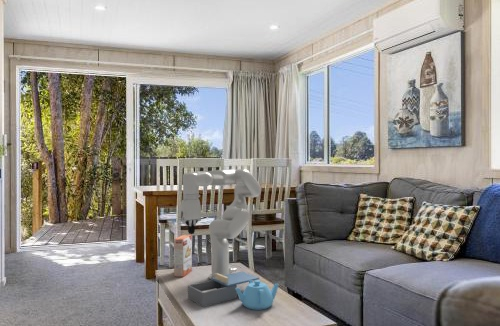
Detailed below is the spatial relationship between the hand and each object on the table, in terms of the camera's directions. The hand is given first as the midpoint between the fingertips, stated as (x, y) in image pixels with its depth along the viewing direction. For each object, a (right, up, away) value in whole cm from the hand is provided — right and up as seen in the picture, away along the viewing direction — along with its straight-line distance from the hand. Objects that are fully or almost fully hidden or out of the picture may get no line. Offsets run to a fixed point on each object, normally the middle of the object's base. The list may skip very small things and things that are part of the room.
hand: (191, 233), depth 210 cm
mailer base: (+12, -27, -17) cm, 34 cm away
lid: (+23, -21, -9) cm, 32 cm away
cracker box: (-8, -27, +25) cm, 38 cm away
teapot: (+33, -27, -27) cm, 50 cm away
